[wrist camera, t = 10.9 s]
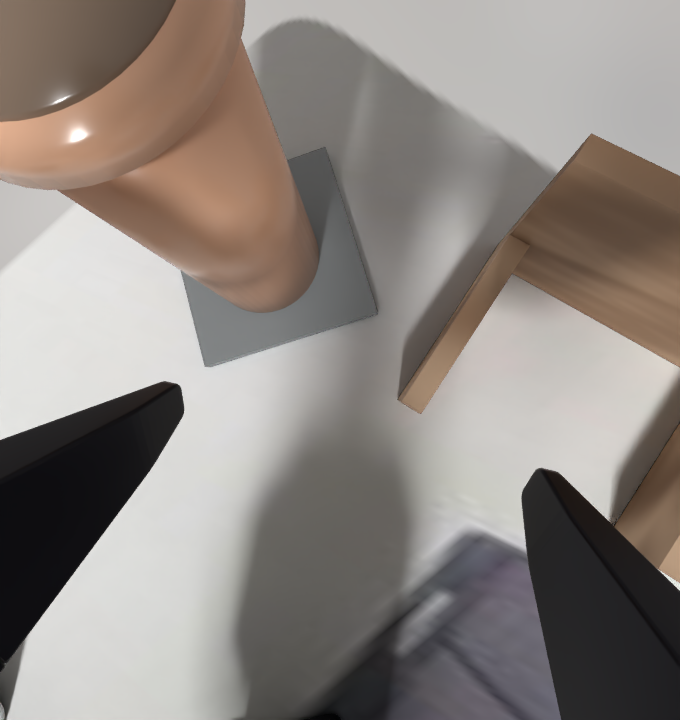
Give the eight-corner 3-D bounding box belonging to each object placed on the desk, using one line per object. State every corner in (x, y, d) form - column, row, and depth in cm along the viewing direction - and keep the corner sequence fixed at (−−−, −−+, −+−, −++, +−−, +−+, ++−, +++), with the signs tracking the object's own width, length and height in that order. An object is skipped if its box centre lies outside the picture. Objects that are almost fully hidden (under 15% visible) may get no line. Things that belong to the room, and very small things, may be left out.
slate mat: (210, 367, 19) (204, 366, 19) (170, 210, 21) (164, 204, 20) (377, 314, 19) (377, 311, 18) (326, 154, 20) (325, 146, 19)
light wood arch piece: (626, 549, 16) (861, 698, 8) (397, 399, 18) (413, 407, 10) (736, 376, 17) (1069, 363, 9) (498, 244, 18) (591, 133, 10)
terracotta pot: (276, 347, 18) (37, 228, 5) (178, 275, 19) (-222, 29, 6) (353, 240, 19) (304, -125, 6) (252, 175, 20) (10, -262, 7)
